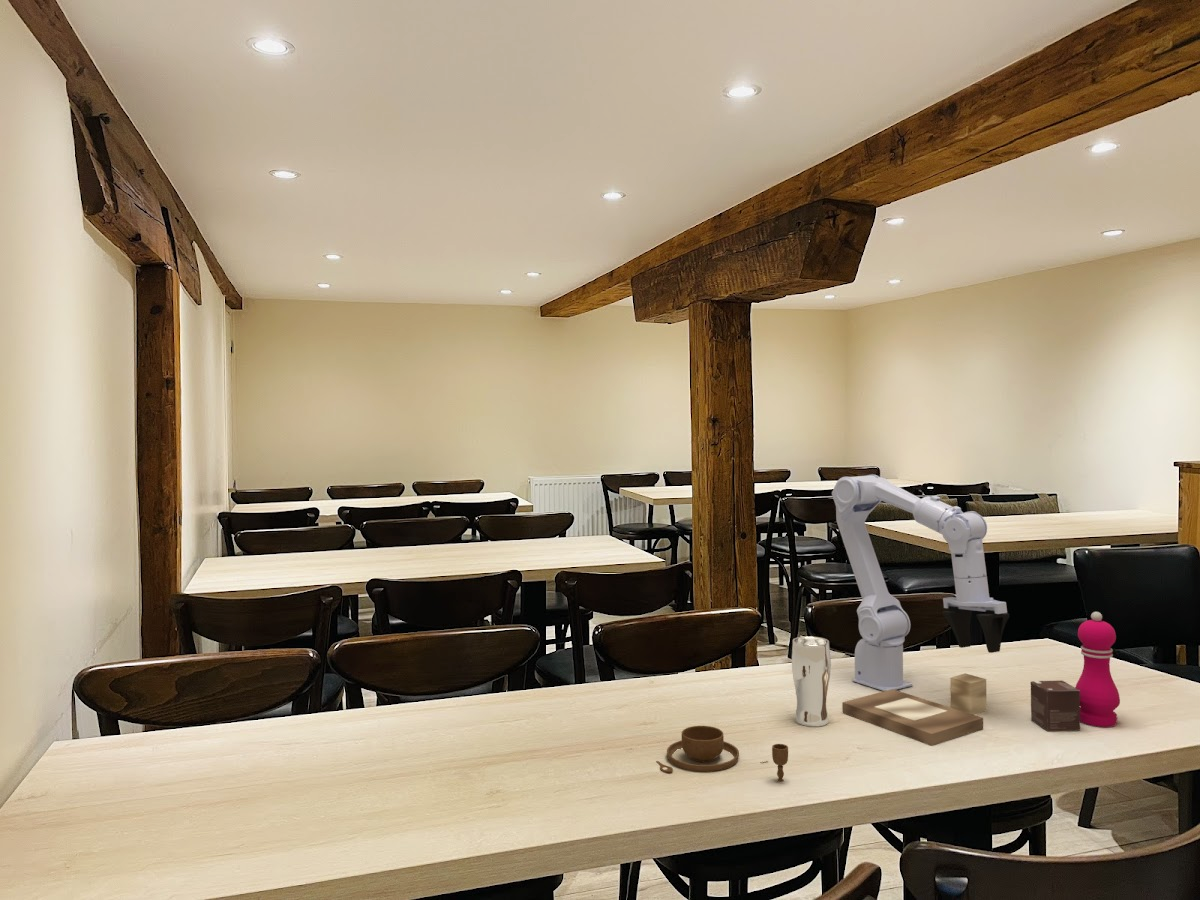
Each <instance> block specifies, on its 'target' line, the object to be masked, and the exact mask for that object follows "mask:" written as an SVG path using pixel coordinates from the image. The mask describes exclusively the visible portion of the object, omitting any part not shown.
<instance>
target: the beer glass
mask: <svg viewBox="0 0 1200 900" xmlns="http://www.w3.org/2000/svg"><path fill="white" fill-rule="evenodd" d="M791 648H792V649H791V673H792V677H793V678H792V679H793V682H794V685H793V686H794V688H795V695H796V710H795V715H794V720H795V722H796V723H797V724H799V725H801V726H806V727H811V728H815V727H817V728H819V727H824V726H827V725H828V724H829V721H830V720H829V719H830V718H829V715H828V714H829V713H828V710H827V709H828V708H827V696H828V689H829V684H830V680H831V679H830V678H831V668H832V667H831V665H832V664H831V651H830V650H831V649H830V641H829V640H828V639H827V638H824V637H819V636H812V635H811V636H798V637H795V638H793V639H792V647H791ZM826 724H827V725H826Z"/></svg>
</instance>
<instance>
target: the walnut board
mask: <svg viewBox="0 0 1200 900" xmlns="http://www.w3.org/2000/svg"><path fill="white" fill-rule="evenodd" d="M841 708H842V709H841V710H842V711H841V712H843V714H845V713H846V714H845V715H847V714H848V715H847V716H850V715H851V717H852V718H853V717H854V718H856V719H859V720H860V721H861V720H862V721H865V722H867V723H870V724H872V725H875V726H877V727H880V728H883V729H885V730H889V731H891V732H894V733H896V734H899V735H902V736H905V737H908V738H910V739H913V740H915V741H918V742H921V743H924V744H927V745H929V746H935V745H938V744H941V743H945V742H948V741H950V740H953V739H957V738H959V737H963V736H965V735H968V734H973V733H975V732H978V731H982V730H984V717H982V716H978V715H976V714H970V713H966V712H963V711H960V710H957V709H954V708H951V706H947V705H945V704H940V703H939V702H934V701H931V700H928V699H925V698H922V697H918V696H916V695H913V694H908V693H906V692H903V691H900V690H894V689H891V690H887V691H879V692H877V693H872V694H869V695H864V696H861V697H857V698H852V699H850V700H845V701H843V702H842V706H841Z"/></svg>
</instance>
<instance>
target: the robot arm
mask: <svg viewBox="0 0 1200 900" xmlns="http://www.w3.org/2000/svg"><path fill="white" fill-rule="evenodd" d="M831 495H832V499H833V501H834V505H835V511H836V512H835V515H836V516H835V517H836V519H835V521H836V523H837V528H838V529H839V533H840V536H841V540H842V543H843V545H844V548H845V550H846V554H847V557H848V560H849V563H850V565H851V569H852V572H853V575H854V578H855V580H856V581H855V582H856V585H857V587H858V590H859V593H860V596H861V599H862V600H861V603H860V604H859V606H858V607H857V609H856V613H857V617H858V631H859V634H860V637H862V638H861V639H859V640H858V641H857V643H856V645H855V649H854V678H852V679H851V680H852V682H855V683H858V684H860V685H864V686H867V687H870V688H874V689H876V690H879V691H881V692H883V691H887V690H891V689H894V690H897V691H899V690H900V689H904V688H909V687H912V686H913V685H914V684H913V682H911V681H907V680H904V642H905V640H906V639H905V637H907V635H908V634H909V633H910V630H911V626H912V625H911V620H910V617H909V615H908V613H907V612H906V611H905V610H904V609H903V607H902V605H901V602H900V599H897V598H896V597H895V596H893V595H892V594H890V592H889V590H888V587H887V583H886V582H885V578H884V575H883V572H882V569H881V567H880V566H881V565H880V563H879V561H878V557H877V555H876V552H875V549H874V546H873V543H872V540H871V537H870V534H869V531H868V529H867V525H866V523H865V522H866V520H867V518H868V516H869V515H870V514H871V512H873V510H874V509H875V508H876V507H877V506H878V505H879V504H880V503H881V502H883V503H886V504H889V505H891V506H893V507H895V508H898V509H901V510H903V511H905V512H908V513H911V514H912V516H913V519H914V521H915V522H916V523H918V524H920V525H922V526H924V527H926V528H927V529H930V530H932V531H935V533H939V534H941V536H942V537H943V540H945V542H946V543H947V544H948V549H949V552H950V554H951V557H950V558H951V563H952V570H953V572H952V573H953V580H954V589H955V596H956V597H954V596H950V597H943V598H942V602H943V609H947V610H945V611H944V610H943V611H942V616H943V617H944V618H945V619H946V621H947V622H948V624H949V626H950V628H951V629H952V632H953V634H954V636H955V639H956V641H957V645H958V646H959V647H958V648H962V649H963V648H969V647H971V644H972V642H971V641H972V637H971V634H972V633H971V620H972V615H973V611H974V612H975V611H977V612H985V613H979V614H976V618H977V620H978V621H979V624H980V626H981V628H982V631H983V635H984V641H985V645H986V650H987V652H988V653H991V654H993V653H998V652H1001V643H1002V637H1003V633H1004V629H1005V627H1006V624H1007V622H1008V620H1009V618H1010V614H1009V613H1008V608H1007V602H1006V601H1000V600H996V599H994V597H990V593H989V592H990V591H989V590H990V589H989V584H988V576H987V566H986V561H985V559H986V558H985V550H984V544H983V539H984V538H985V537H986V535H987V532H988V525H987V522H986V520H985V518H984V517H983V515H981V514H979V513H978V512H977V511H974V510H971V511H965V512H963V511H962V508H961V507H959V506H957V505H955V506H952V505H950V504H947V503H945V502H943V501H941V497H940V496H937V495H931V496H928V495H927V496H924V497H922V498H920V497H918V496H916V495H915V494H913V493H911V492H909V491H907V490H905V489H904V488H901V487H899V486H897V485H896V484H894V483H892V482H890V481H889V480H888V479H887V478H885V477H880V476H879V475H878V474H877V475H876V474H867V475H858V476H842V477H840V478H839V479H838V480H837V481H836V483H835V485H834V487H833V489H832V491H831Z"/></svg>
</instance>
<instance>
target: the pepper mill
mask: <svg viewBox="0 0 1200 900" xmlns="http://www.w3.org/2000/svg"><path fill="white" fill-rule="evenodd" d="M1090 618H1091V619H1088V620H1084V622H1082V623H1081V624H1080V625H1079V627H1078V629H1077V637H1078V639H1079V641H1080V642H1081V644H1082V645H1080V649H1081V651H1080V654H1081V655H1083V668H1082V671H1081V674H1080V677H1079V679H1078V680H1077V682H1076V685H1075V686H1074V687H1075V688H1076V689H1078V690H1080V723H1082V724H1084V723H1085V724H1084V725H1087V724H1088V726H1091V725H1092V726H1093V727H1097V726H1099V727H1098V728H1110V726H1112V727H1115V726H1116V725H1118V724H1117V723H1118V720H1117V719H1118V717H1117V716H1118V715H1117V713H1116V712H1115V710H1116V709H1117V708H1118V707H1119V706H1120V703H1121V699H1120V698H1121V697H1120V692H1119V690H1118V688H1117V686H1116V684H1115V682H1114V679H1113V677H1112V673H1111V669H1110V667H1111V665H1110V663H1111V658H1113V657H1114V654H1113V651H1114V650H1113V648H1112V646H1113V645H1114V644H1115V643H1116V639H1117V635H1116V634H1117V633H1116V631H1115V628H1114V627H1113V626H1112V625H1111V624H1110V623H1108V622H1106V621H1104V620H1102V619H1103V614H1101V612H1099V611H1093V612H1092V613H1091V615H1090Z"/></svg>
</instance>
